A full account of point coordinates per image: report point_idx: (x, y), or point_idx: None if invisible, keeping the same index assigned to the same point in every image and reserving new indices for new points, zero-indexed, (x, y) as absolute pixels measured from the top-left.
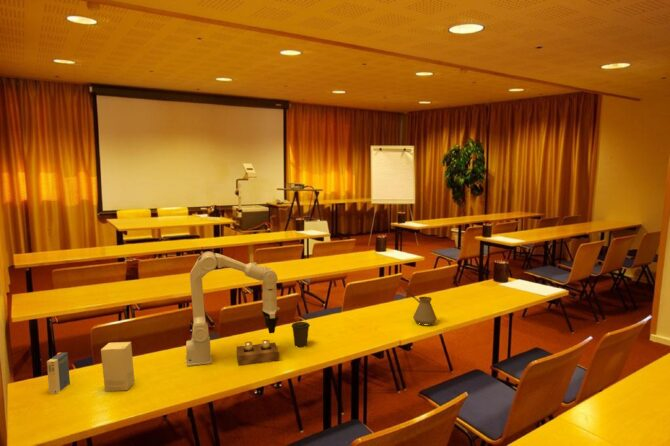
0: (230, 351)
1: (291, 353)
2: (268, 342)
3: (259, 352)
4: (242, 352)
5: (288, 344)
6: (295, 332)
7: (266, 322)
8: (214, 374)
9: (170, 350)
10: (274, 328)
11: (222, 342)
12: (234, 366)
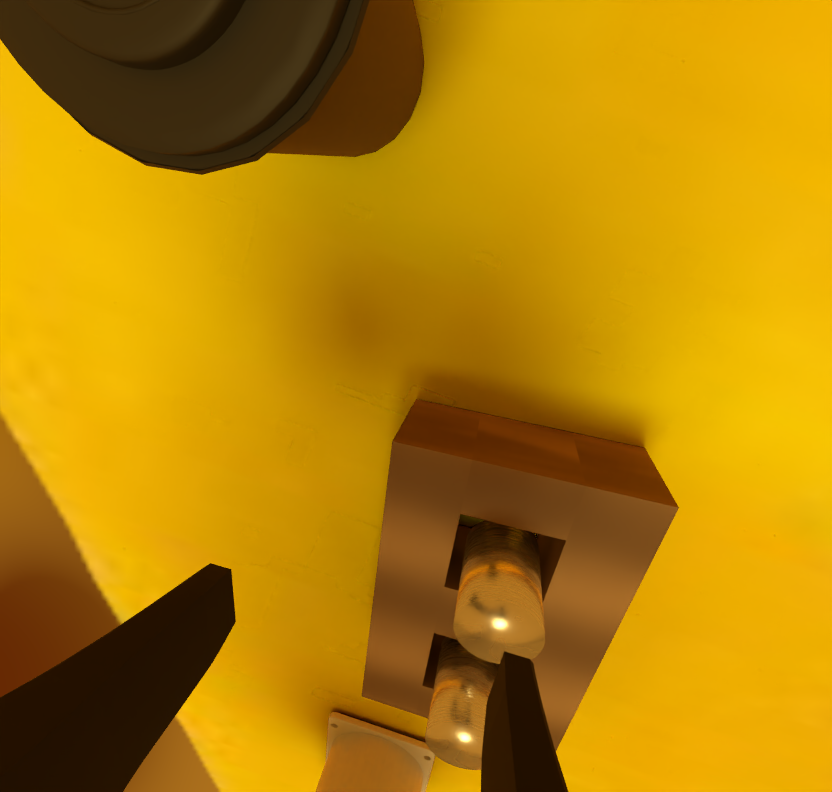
0: (300, 625)
1: (537, 272)
2: (541, 617)
3: (578, 645)
4: None
5: (291, 217)
6: (315, 126)
7: (176, 699)
8: (587, 787)
9: (216, 771)
10: (550, 761)
11: None
12: None
